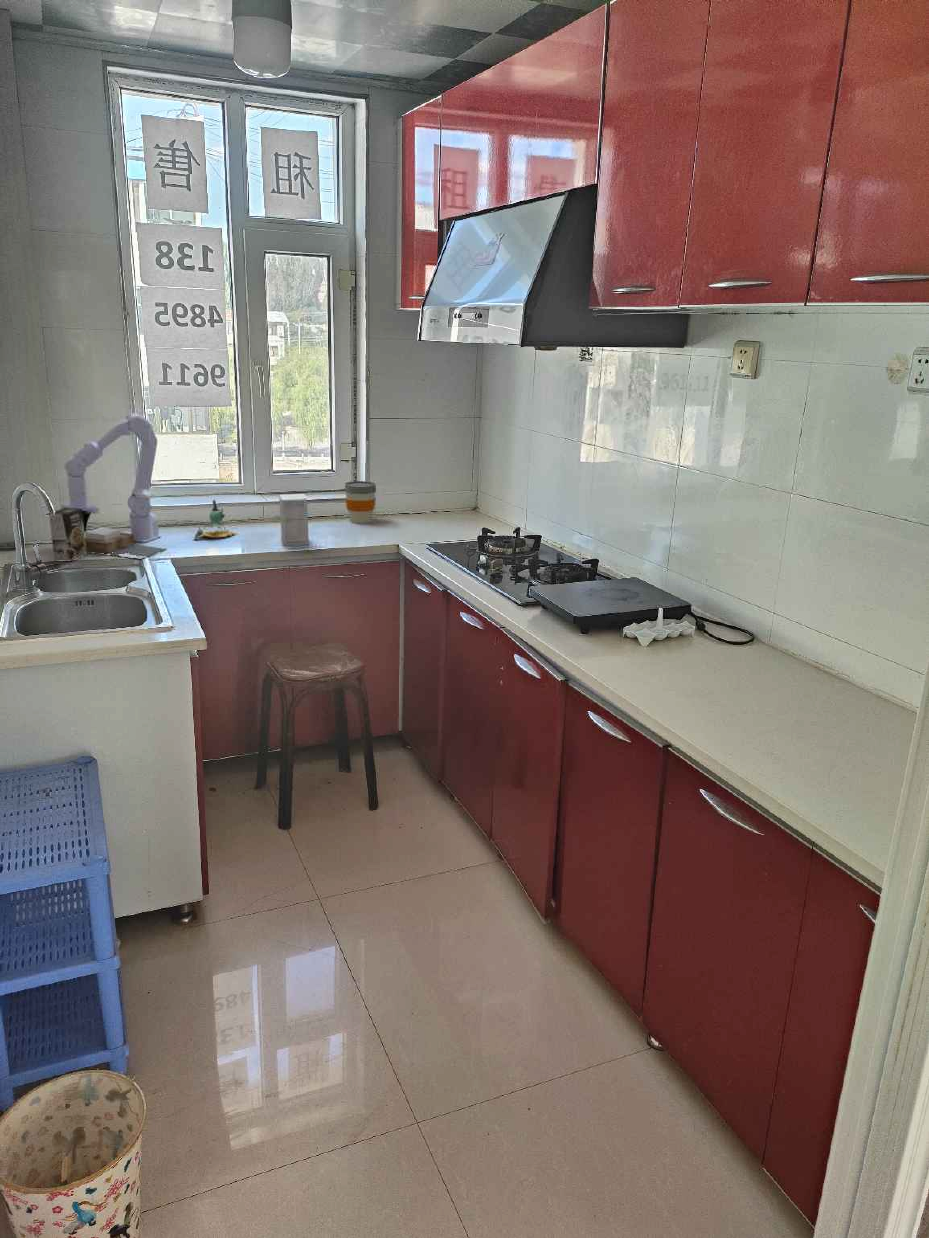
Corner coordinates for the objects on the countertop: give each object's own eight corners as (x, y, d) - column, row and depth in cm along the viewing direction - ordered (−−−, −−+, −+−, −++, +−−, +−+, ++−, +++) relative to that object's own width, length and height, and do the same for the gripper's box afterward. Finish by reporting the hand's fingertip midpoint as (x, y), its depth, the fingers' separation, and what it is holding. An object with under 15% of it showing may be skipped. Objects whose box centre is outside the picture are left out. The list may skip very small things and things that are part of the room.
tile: (101, 532, 310) (101, 527, 310) (120, 535, 308) (120, 529, 307) (85, 537, 303) (85, 532, 302) (105, 540, 301) (104, 534, 300)
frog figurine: (186, 536, 326) (187, 496, 322) (233, 536, 336) (235, 498, 332) (194, 542, 318) (195, 501, 314) (242, 542, 328) (244, 502, 324)
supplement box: (306, 538, 329) (305, 493, 323) (309, 544, 320) (308, 498, 315) (280, 539, 326) (278, 494, 320) (282, 545, 318) (280, 499, 312)
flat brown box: (106, 541, 315) (105, 530, 313) (134, 545, 311) (133, 534, 310) (78, 550, 302) (77, 539, 301) (107, 555, 298) (106, 543, 297)
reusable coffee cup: (343, 517, 362) (342, 481, 357) (373, 517, 365) (373, 480, 360) (346, 524, 351) (346, 487, 346) (378, 524, 353) (378, 486, 348)
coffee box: (71, 562, 289) (65, 514, 283) (53, 561, 290) (47, 512, 285) (87, 555, 297) (82, 508, 292) (70, 553, 298) (65, 506, 293)
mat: (135, 545, 311) (135, 544, 311) (166, 550, 307) (166, 548, 307) (108, 555, 298) (108, 554, 298) (140, 560, 295) (140, 558, 294)
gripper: (52, 493, 302) (56, 531, 306) (87, 497, 298) (91, 536, 302) (67, 489, 308) (71, 527, 313) (101, 493, 304) (105, 532, 308)
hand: (82, 531), depth 308 cm, fingers closed
